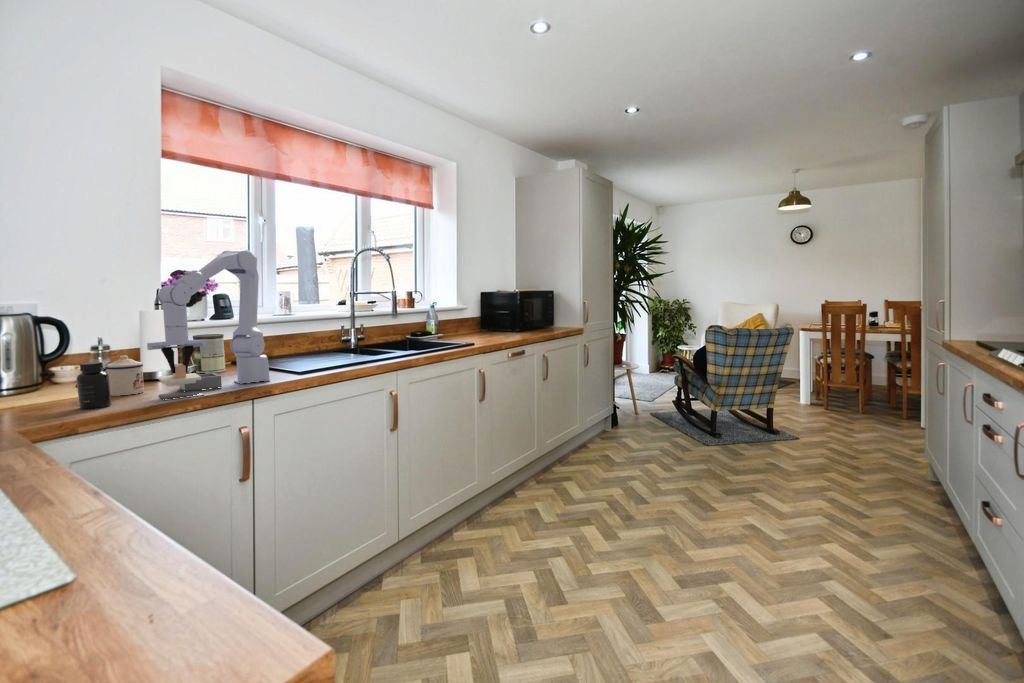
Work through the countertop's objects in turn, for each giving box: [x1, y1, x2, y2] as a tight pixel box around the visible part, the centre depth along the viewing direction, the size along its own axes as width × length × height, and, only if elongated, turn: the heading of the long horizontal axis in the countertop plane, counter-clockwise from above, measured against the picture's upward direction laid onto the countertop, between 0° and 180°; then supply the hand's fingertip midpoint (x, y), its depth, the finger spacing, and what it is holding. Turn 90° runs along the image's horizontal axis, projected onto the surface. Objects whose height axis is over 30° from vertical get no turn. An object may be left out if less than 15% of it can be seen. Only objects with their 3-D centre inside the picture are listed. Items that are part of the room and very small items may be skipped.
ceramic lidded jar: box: [105, 354, 145, 397], centre depth 160 cm, size 12×9×12 cm
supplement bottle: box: [76, 361, 112, 410], centre depth 141 cm, size 7×7×12 cm
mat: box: [158, 390, 202, 401], centre depth 155 cm, size 10×9×1 cm
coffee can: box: [192, 333, 226, 374], centre depth 201 cm, size 10×10×14 cm
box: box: [179, 373, 223, 392], centre depth 166 cm, size 10×8×4 cm
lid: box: [157, 363, 201, 387], centre depth 155 cm, size 10×8×5 cm
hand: (179, 372), depth 155 cm, fingers closed on lid, 2 cm apart
